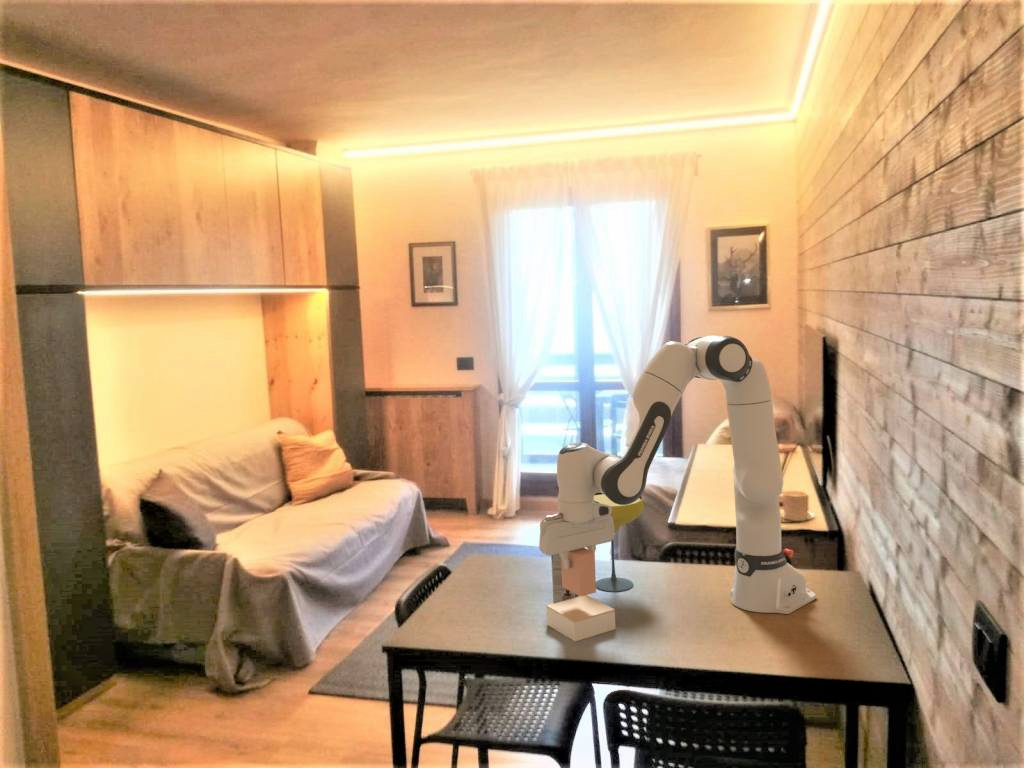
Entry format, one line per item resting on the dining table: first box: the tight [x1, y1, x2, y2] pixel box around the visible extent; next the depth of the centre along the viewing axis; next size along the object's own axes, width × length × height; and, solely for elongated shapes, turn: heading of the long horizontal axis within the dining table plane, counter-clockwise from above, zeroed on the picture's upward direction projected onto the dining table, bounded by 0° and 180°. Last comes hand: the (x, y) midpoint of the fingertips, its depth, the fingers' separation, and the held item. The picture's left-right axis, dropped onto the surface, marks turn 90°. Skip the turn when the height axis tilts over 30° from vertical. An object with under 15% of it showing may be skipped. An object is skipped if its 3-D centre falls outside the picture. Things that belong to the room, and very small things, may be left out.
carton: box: [561, 547, 597, 597], centre depth 189 cm, size 4×8×10 cm, turn 30°
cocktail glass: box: [594, 493, 645, 593], centre depth 217 cm, size 18×18×25 cm
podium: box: [546, 594, 616, 642], centre depth 190 cm, size 12×12×5 cm
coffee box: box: [551, 554, 580, 604], centre depth 209 cm, size 9×6×16 cm
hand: (578, 565), depth 189 cm, fingers closed on carton, 4 cm apart
